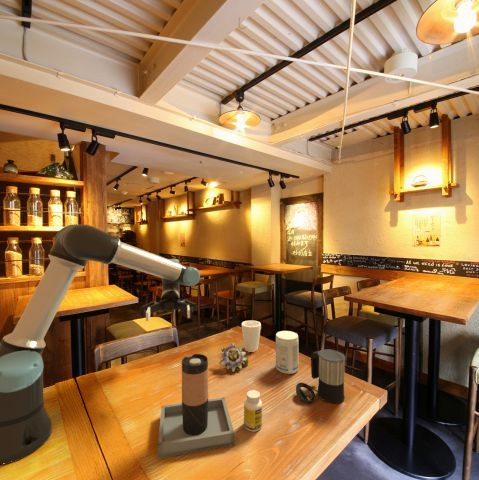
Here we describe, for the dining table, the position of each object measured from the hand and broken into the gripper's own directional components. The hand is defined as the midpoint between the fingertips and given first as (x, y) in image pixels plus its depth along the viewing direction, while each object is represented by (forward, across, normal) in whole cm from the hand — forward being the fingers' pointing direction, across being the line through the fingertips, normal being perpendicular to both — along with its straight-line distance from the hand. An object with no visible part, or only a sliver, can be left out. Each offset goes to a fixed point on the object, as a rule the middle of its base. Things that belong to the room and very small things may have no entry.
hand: (168, 315), depth 91 cm
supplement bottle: (+17, -25, -30) cm, 43 cm away
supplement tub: (-12, -48, -30) cm, 58 cm away
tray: (+15, -8, -30) cm, 34 cm away
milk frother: (+8, -52, -30) cm, 61 cm away
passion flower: (-19, -26, -30) cm, 45 cm away
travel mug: (+15, -8, -29) cm, 34 cm away
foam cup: (-33, -38, -30) cm, 59 cm away
